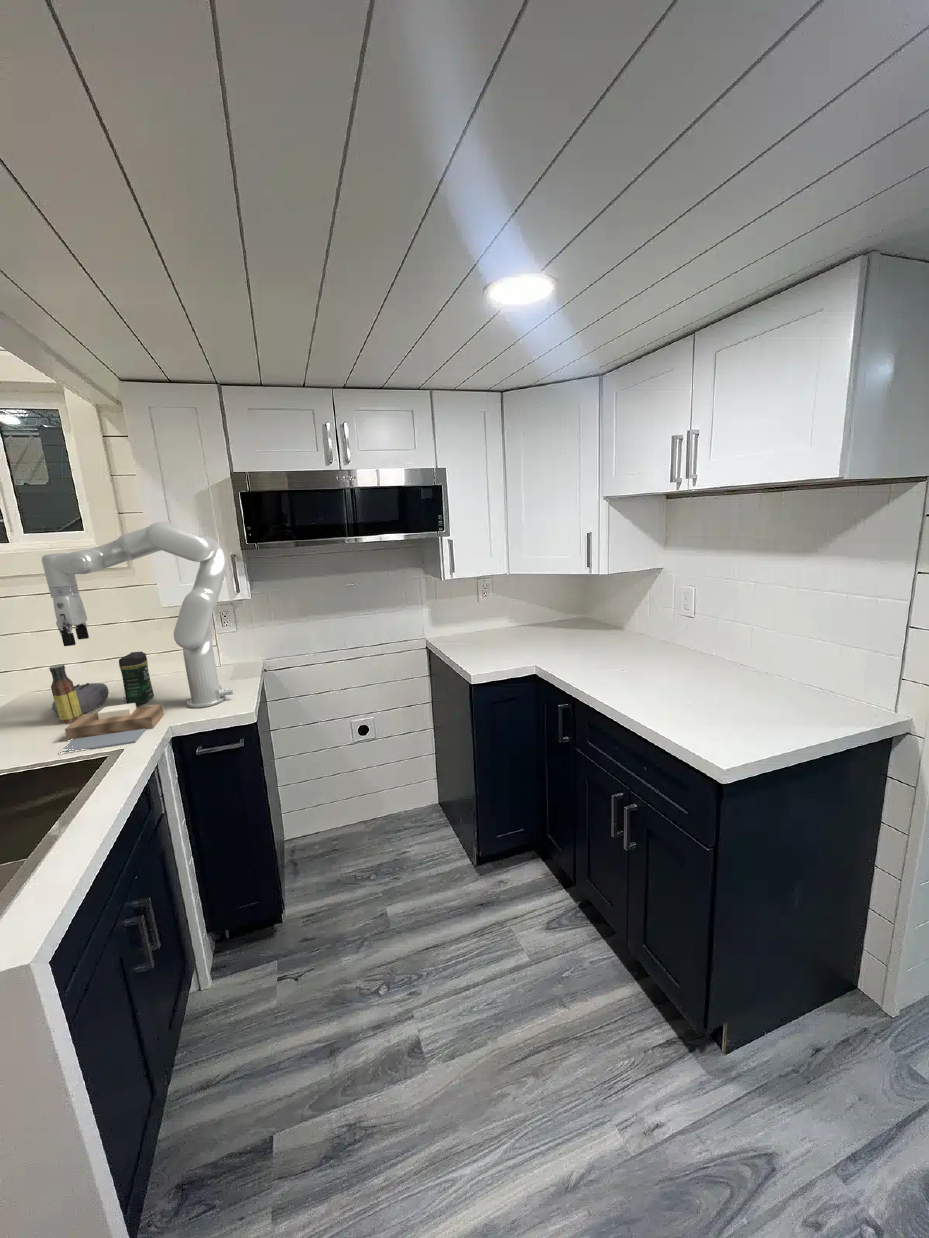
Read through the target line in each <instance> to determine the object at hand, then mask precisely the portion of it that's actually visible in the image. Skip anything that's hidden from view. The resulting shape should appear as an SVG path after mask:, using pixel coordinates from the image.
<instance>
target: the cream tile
mask: <svg viewBox="0 0 929 1238" xmlns="http://www.w3.org/2000/svg"><path fill="white" fill-rule="evenodd" d="M136 708H137V705H136V704H135V703H131V704H127V703H124V704H117V705H110V706H104V707H103V708H102V709H101V710H99V711H98V712H97V713H98V718H99V719H104V718H111V717H119V716H126V715H131V714H132V713H133V712H134V710H135V709H136Z"/></svg>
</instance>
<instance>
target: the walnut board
mask: <svg viewBox="0 0 929 1238" xmlns="http://www.w3.org/2000/svg"><path fill="white" fill-rule="evenodd" d="M98 713H99V712H95V713H88V714H86V713H85V714H82V715H81V716H80V717H79V718H78V719H76V720H75V721H74V722H72V723H69V725H68V726H66V727H65V728H64V732H65V735H66V736H65V737H66V740H71V739H77V738H84V737H91V736H97V735H104V734H111V733H118V732H125V731H131V730H138V729H145V728H146V730H153V729H154V728H155V727H156V726H157V724H159V722H160V721H161V720H162V718H163V717H164V716H165V714H164V708H163V704H162V703H161V704H160V703H158V704H152V705H146V706H136V709H135V710H134V712H133V713H132V714H131V715H126V716H119V717H111V718H104V719H99V718H98ZM163 715H164V716H163ZM160 719H161V720H160Z"/></svg>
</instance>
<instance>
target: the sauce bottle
mask: <svg viewBox="0 0 929 1238" xmlns="http://www.w3.org/2000/svg"><path fill="white" fill-rule="evenodd" d="M48 670H49V672H50V673H51V676H52V677H51V678H52V682H51V685H50V689H51V693H52V698H53V702H54V701H55V705H56V708H57V712H58V715H59V716H58V718H59V720H60V722H61V723H62V724H65V725H66V724H72V723H73V722H74V721H75V720H76V719H78V718H79V717H80V716H81V715H83V713H82V712H81V708H80V705H79V701H78V698H77V694H76V691H75V689H74V686H75V685H74V682H73V680H71V679H70V678H69V677H68V676H67V675H68V674H67V673H66V667H65V664H62V663H61V664H55V665H51V666H49V669H48ZM81 713H82V714H81Z"/></svg>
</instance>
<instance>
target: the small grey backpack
mask: <svg viewBox="0 0 929 1238" xmlns="http://www.w3.org/2000/svg"><path fill="white" fill-rule="evenodd" d="M74 689H75V691H76V694H77V698H78V701H79V705H80V708H81V712H82V713H81V714H82V715H83V714H84V713H85V714H86V713H87V712H90V711H92V710H95V709H96V707H97V708H98V707H100V706H101V705H102V704H103V703H105V702H106V700H108V698H109V693H110V692H109V688H108V685H106V684H105V683H101V682H94V683H93V682H92V683H91V682H90V683H89V682H86V683H84V684H80V683H78V684H76V685H74ZM51 704H52V705H51V709H52V711H53V712H54V714H55V715H56V716H58V717H59V715H58V712H57V708H56V705H55V701H54V700H53V702H52V703H51ZM99 705H100V706H99ZM94 708H95V709H94Z"/></svg>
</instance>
